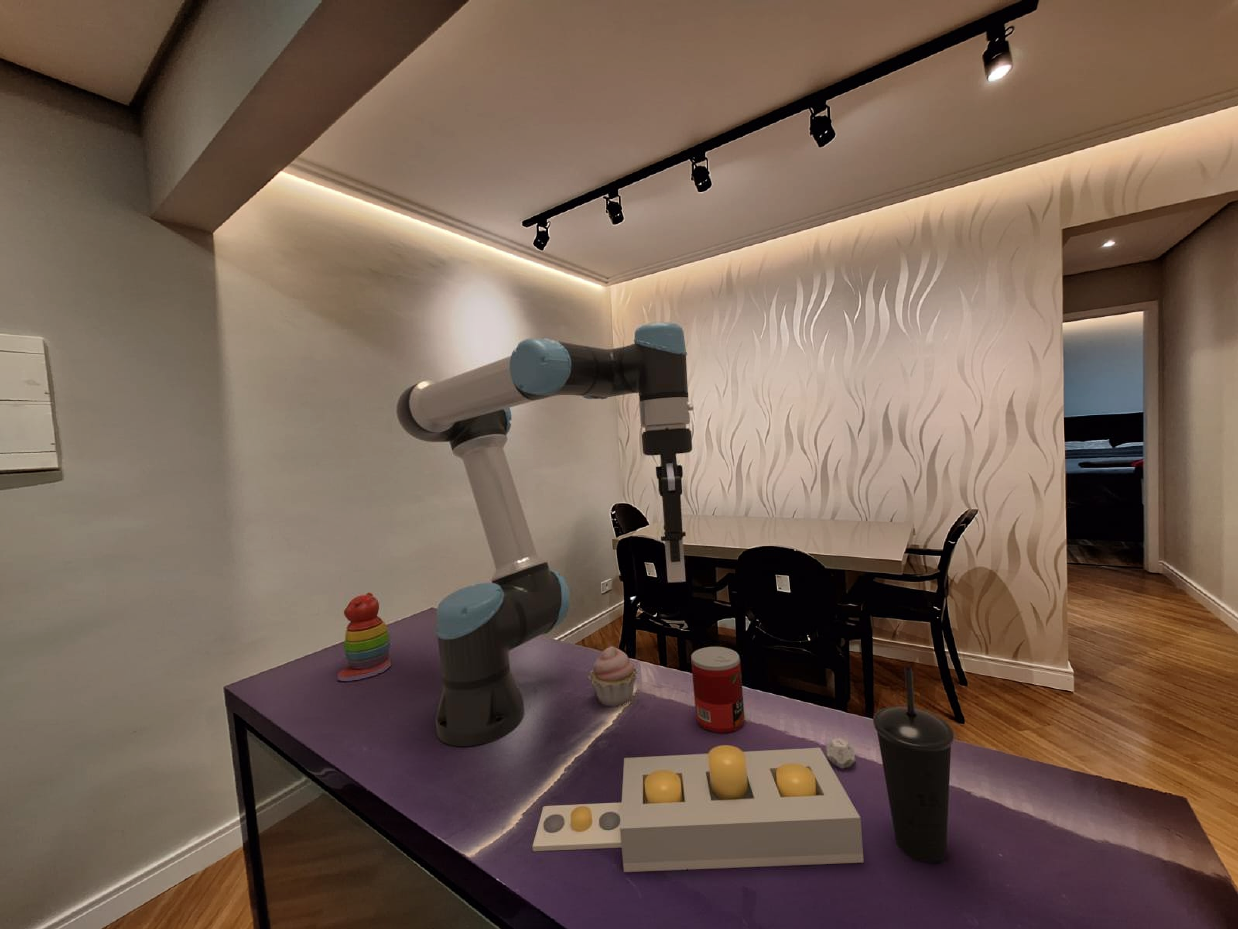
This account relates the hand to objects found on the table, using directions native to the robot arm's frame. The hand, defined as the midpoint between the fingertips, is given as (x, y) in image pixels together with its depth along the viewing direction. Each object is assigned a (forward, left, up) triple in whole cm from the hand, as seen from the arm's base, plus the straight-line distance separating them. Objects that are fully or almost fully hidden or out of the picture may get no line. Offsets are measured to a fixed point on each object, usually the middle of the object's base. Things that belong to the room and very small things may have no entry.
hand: (676, 580), depth 75 cm
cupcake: (-13, +14, -26) cm, 32 cm away
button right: (+11, -17, -24) cm, 31 cm away
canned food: (+5, +5, -26) cm, 27 cm away
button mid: (+3, -17, -21) cm, 27 cm away
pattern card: (-15, -16, -26) cm, 34 cm away
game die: (+20, -7, -26) cm, 34 cm away
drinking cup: (+23, -21, -26) cm, 41 cm away
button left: (-5, -17, -24) cm, 30 cm away
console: (+3, -17, -26) cm, 31 cm away
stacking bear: (-72, +33, -26) cm, 83 cm away
